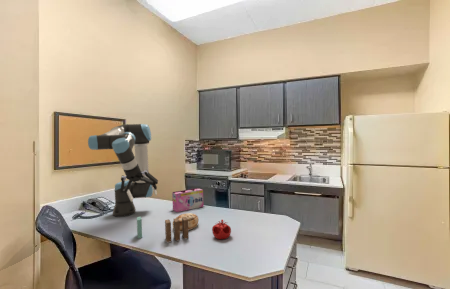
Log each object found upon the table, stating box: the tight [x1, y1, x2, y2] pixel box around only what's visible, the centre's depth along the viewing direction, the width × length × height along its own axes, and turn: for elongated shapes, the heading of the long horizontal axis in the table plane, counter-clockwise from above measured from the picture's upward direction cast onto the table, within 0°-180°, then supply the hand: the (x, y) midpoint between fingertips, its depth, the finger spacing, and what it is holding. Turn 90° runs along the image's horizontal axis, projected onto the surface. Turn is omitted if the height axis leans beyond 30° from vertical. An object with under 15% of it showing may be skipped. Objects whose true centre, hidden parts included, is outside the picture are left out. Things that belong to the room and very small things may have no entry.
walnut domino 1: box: [164, 219, 172, 243], centre depth 119 cm, size 2×5×10 cm, turn 24°
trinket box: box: [172, 212, 199, 233], centre depth 136 cm, size 13×15×8 cm
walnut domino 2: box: [173, 217, 181, 241], centre depth 120 cm, size 2×5×10 cm, turn 23°
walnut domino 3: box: [181, 217, 189, 240], centre depth 122 cm, size 2×5×10 cm, turn 24°
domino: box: [136, 216, 143, 239], centre depth 124 cm, size 2×5×10 cm, turn 23°
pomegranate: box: [211, 219, 232, 240], centre depth 121 cm, size 10×10×9 cm
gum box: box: [171, 187, 204, 213], centre depth 174 cm, size 24×8×14 cm, turn 124°
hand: (144, 196), depth 128 cm, fingers open, 13 cm apart
